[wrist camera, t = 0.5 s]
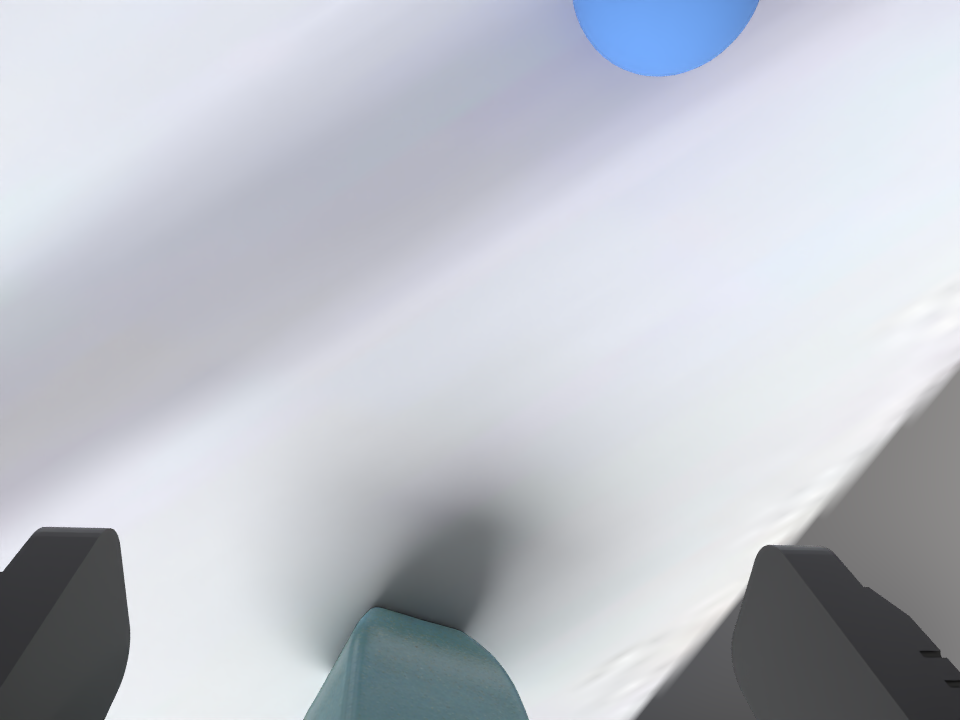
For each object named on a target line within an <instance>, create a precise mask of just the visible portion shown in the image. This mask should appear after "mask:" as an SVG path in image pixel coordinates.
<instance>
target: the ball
mask: <svg viewBox="0 0 960 720" xmlns="http://www.w3.org/2000/svg"><path fill="white" fill-rule="evenodd" d="M758 2H759V0H573V4H574V8H575V12H576V16H577V18H578V21H579V23H580V26H581V28H582V30H583V31H584V33H585V35H586V37H587V38H588V40H589V41H590V42H591V44H592V45H593V46H594V48H595V49H596V50H597V51H598V52H599V53H600V54H601V55H602V56H603V57H605V58H606V59H607V60H609V61H610V62H611V63H613V64H614V65H616V66H618V67H620V68H622V69H624V70H627V71H630V72H632V73H635V74H640V75H645V76H670V75H676V74H680V73H684V72H687V71H690V70H692V69H695V68H697V67H700V66H702V65H703V64H705V63H707V62H709V61H711V60H712V59H713V58H715V57H716V56H718V55H719V54H720V53H722V52H723V51H724V50H725V49H726V48H727V47H728V46H729V45H730V44H731V43H732V42H733V41H734V40H735V39H736V38H737V37H738V36H739V34H740V33H741V32H742V31H743V29H744V28H745V26H746V25H747V24H748V22H749V20H750V19H751V17H752V15H753V13H754V11H755V9H756V7H757V5H758Z"/></svg>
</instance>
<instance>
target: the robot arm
mask: <svg viewBox="0 0 960 720" xmlns="http://www.w3.org/2000/svg"><path fill="white" fill-rule="evenodd" d="M129 647H130V624H129V616H128V607H127V599H126V590H125V582H124V573H123V565H122V556H121V548H120V542H119V538H118V535H117V533H116V532H115V530H113V529H111V528H71V527H42V528H40V529H38V530H37V531H35V532H34V534H33V535H32V536H31V537H30V538H29V539H28V541H27V542H26V543H25V544H24V546H23V547H22V548H21V549H20V551H19V552H18V553H17V554H16V556H15V557H14V558H13V559H12V561H11V562H10V563H9V564H8V566H7V567H6V568H5V570H4V571H3V572H0V720H104V719H105V717H106V715H107V713H108V711H109V709H110V706H111V704H112V702H113V700H114V698H115V696H116V693H117V691H118V689H119V687H120V684H121V682H122V679H123V676H124V672H125V669H126V665H127V660H128V655H129ZM731 651H732V663H733V668H734V673H735V676H736V679H737V682H738V685H739V687H740V689H741V691H742V693H743V695H744V697H745V698H746V700H747V702H748V704H749V706H750V708H751V710H752V712H753V713H754V716H755V717H756V719H757V720H960V672H959V671H958V670H957V668H955V666H954V665H953V664H952V663H951V662H950V661H949V660H948V659H947V658H942V657H941V655H940V650H939V649H938V648H937V646H936V645H935V644H934V643H933V642H932V641H931V640H930V639H929V637H928V636H927V635H926V634H925V633H924V632H923V631H922V630H921V629H920V627H919V626H918V625H917V624H916V623H915V622H914V621H913V620H912V619H911V618H910V616H908V615H907V614H906V613H904V612H903V611H901V610H900V609H899V608H897V607H896V606H894V605H893V604H891V603H890V602H889V601H887V600H886V599H884V598H883V597H881V596H880V595H879V594H877V593H876V592H875V591H873V590H872V589H870V588H869V587H863V586H862V585H861V584H860V582H859V581H858V580H857V579H856V578H855V577H854V576H853V574H852V573H851V572H850V571H849V570H848V569H847V567H846V566H845V565H844V564H843V563H842V562H841V560H840V559H839V558H838V557H837V556H836V555H835V554H834V553H833V552H832V551H831V550H830V549H828V548H826V547H823V546H790V545H767V546H764V547H763V548H761V550H760V551H759V552H758V554H757V556H756V559H755V562H754V565H753V568H752V572H751V575H750V578H749V582H748V585H747V589H746V592H745V595H744V599H743V602H742V605H741V609H740V612H739V616H738V619H737V622H736V626H735V629H734V633H733V637H732V647H731Z"/></svg>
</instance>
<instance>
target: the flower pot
mask: <svg viewBox="0 0 960 720" xmlns="http://www.w3.org/2000/svg"><path fill="white" fill-rule="evenodd" d="M303 720H529V718H528V716H527V713H526V711H525V708H524V706H523V704H522V701H521V699H520V696H519V694H518V692H517V690H516V688H515V686H514V684H513V682H512V681H511V679H510V677H509V676H508V674H507V673H506V671H505V670H504V669H503V667H502V666H501V665H500V664H499V662H498V661H497V660H496V659H495V658H494V657H493V656H492V655H491V654H490V653H489V652H488V651H487V650H486V649H485V648H484V647H482V646H481V645H480V644H479V643H477V642H476V641H475V640H473V639H472V638H470V637H469V636H468V635H466V634H465V633H464V632H462V631H459V630H456V629H453V628H449V627H446V626H442V625H438V624H435V623H431V622H427V621H424V620H420V619H417V618H414V617H411V616H407V615H404V614H401V613H397V612H394V611H391V610H387V609H384V608H372V609H370V610H369V611H368V612H367V613H366V614H365V615H364V616H363V617H362V618H361V619H360V621H359V622H358V624H357V625H356V627H355V629H354V630H353V632H352V634H351V636H350V638H349V639H348V641H347V643H346V645H345V647H344V648H343V650H342V652H341V654H340V656H339V657H338V659H337V661H336V663H335V665H334V666H333V668H332V670H331V672H330V673H329V675H328V677H327V679H326V680H325V682H324V684H323V686H322V688H321V689H320V691H319V693H318V695H317V696H316V698H315V700H314V701H313V703H312V705H311V707H310V708H309V710H308V712H307V714H306V715H305V717H304V719H303Z"/></svg>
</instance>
